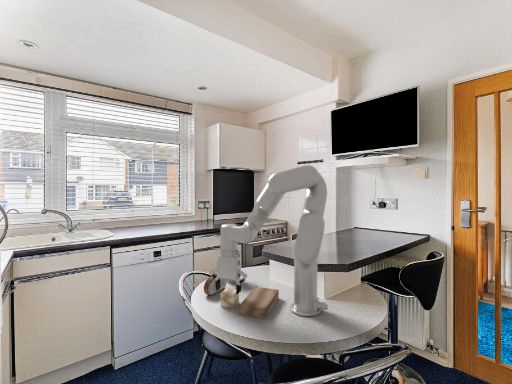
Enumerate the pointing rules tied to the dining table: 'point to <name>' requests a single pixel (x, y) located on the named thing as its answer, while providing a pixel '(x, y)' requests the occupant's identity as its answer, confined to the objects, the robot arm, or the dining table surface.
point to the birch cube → (229, 298)
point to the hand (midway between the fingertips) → (228, 291)
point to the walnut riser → (259, 302)
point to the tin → (213, 286)
